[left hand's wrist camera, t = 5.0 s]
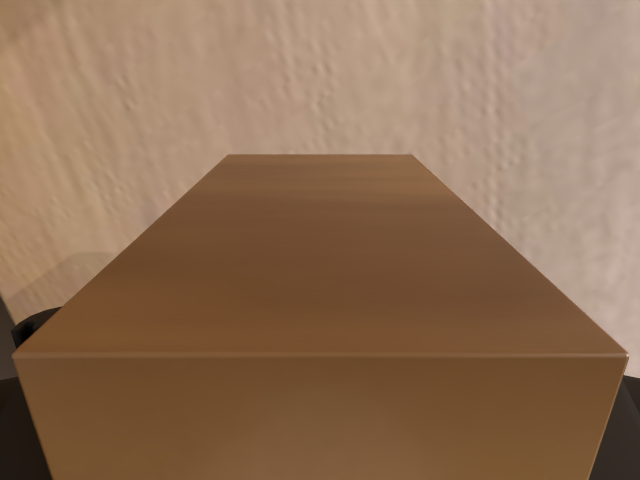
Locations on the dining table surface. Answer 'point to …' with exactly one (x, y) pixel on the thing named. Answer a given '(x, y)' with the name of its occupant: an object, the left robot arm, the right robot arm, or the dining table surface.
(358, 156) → the box
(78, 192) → the dining table surface
